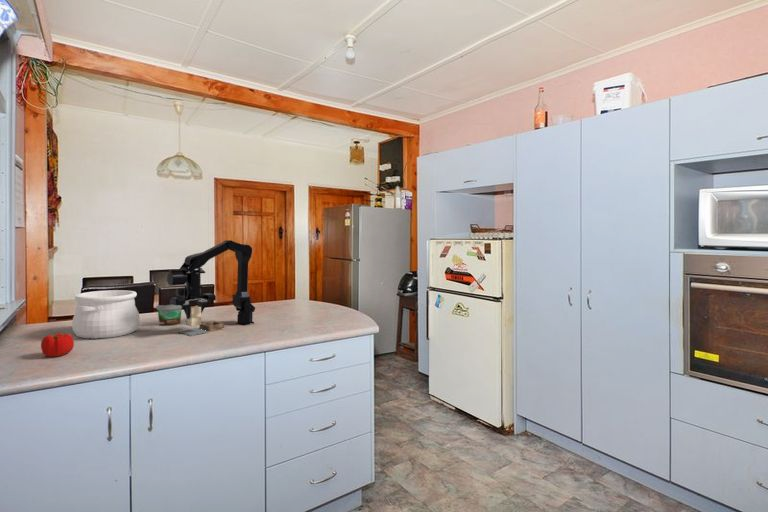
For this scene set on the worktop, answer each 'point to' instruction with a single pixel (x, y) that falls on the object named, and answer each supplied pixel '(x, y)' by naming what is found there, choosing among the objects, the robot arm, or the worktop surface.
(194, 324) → the birch block
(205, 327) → the walnut pocket
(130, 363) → the worktop surface
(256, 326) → the worktop surface
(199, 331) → the slate mat
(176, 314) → the food container
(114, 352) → the worktop surface
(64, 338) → the tomato
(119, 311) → the pot
